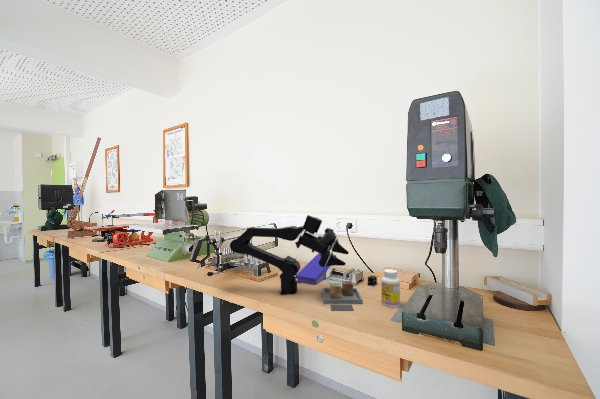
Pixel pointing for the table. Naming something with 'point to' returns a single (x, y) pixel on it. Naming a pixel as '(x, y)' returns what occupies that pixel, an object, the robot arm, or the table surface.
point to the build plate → (372, 280)
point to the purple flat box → (313, 272)
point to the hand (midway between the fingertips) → (346, 258)
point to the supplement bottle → (390, 288)
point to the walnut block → (347, 288)
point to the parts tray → (342, 297)
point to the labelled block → (335, 291)
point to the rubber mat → (341, 308)
